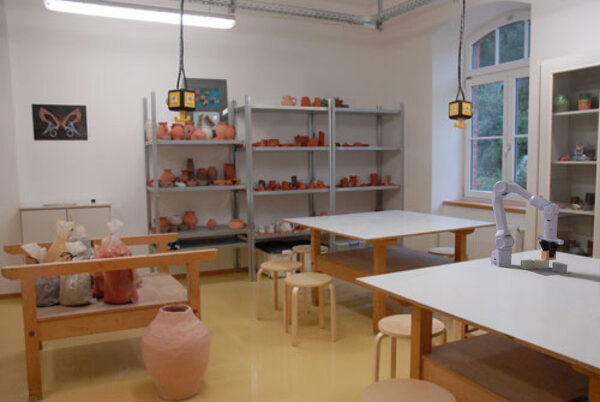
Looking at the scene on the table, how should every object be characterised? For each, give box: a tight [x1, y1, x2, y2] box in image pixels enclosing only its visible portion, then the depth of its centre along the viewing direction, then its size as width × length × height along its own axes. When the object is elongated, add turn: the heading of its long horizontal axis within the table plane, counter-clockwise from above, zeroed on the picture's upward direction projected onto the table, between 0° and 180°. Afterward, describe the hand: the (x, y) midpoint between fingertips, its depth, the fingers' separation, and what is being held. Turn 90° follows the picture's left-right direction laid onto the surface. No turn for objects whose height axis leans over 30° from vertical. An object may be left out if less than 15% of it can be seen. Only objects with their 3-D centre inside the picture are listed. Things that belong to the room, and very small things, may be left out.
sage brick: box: [519, 259, 535, 270], centre depth 247 cm, size 6×3×4 cm, turn 108°
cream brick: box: [534, 258, 550, 269], centre depth 248 cm, size 6×3×4 cm, turn 108°
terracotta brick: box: [540, 250, 557, 261], centre depth 238 cm, size 6×3×4 cm, turn 108°
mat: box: [519, 267, 571, 277], centre depth 242 cm, size 15×17×1 cm
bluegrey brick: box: [551, 261, 568, 273], centre depth 240 cm, size 6×3×4 cm, turn 18°
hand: (548, 256), depth 238 cm, fingers closed on terracotta brick, 3 cm apart
